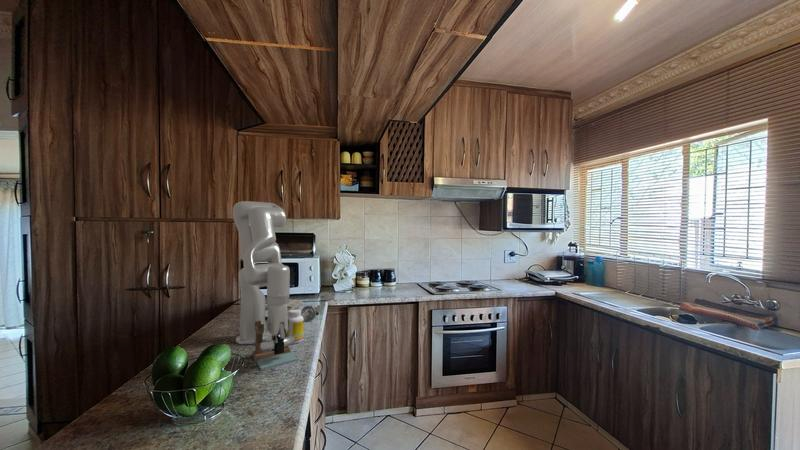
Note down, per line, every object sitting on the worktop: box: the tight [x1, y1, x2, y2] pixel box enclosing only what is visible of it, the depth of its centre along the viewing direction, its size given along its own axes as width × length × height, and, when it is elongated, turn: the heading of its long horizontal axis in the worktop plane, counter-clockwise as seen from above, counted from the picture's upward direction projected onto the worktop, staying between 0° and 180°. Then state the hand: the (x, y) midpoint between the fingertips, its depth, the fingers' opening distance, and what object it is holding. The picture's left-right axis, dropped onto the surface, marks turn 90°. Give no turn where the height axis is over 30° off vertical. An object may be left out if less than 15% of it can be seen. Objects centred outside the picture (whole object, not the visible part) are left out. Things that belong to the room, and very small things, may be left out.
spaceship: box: [301, 304, 322, 322], centre depth 147 cm, size 8×35×8 cm
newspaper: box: [265, 299, 304, 319], centre depth 165 cm, size 35×12×4 cm, turn 176°
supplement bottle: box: [287, 308, 305, 345], centre depth 121 cm, size 7×7×13 cm
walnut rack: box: [252, 319, 291, 362], centre depth 109 cm, size 6×12×12 cm, turn 128°
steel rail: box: [260, 336, 296, 352], centre depth 102 cm, size 11×3×3 cm, turn 128°
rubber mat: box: [256, 351, 298, 371], centre depth 102 cm, size 7×12×1 cm, turn 128°
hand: (277, 351), depth 102 cm, fingers closed on steel rail, 3 cm apart
